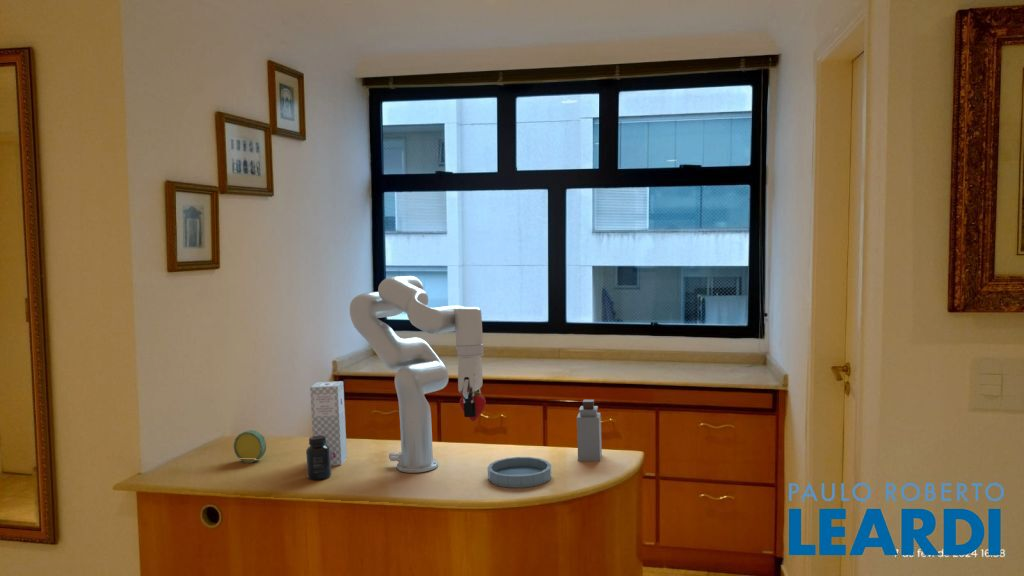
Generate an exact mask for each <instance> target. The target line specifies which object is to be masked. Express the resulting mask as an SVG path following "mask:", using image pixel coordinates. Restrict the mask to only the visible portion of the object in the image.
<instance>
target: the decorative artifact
mask: <svg viewBox="0 0 1024 576" xmlns="http://www.w3.org/2000/svg"><path fill="white" fill-rule="evenodd" d="M233 451H234V454H235V456H236V457H237V458H238V459H239V458H256V459H258V460H260V459H261V458H263V456H264V455H265V453H266V451H267V442H266V440H265V437H264V435H263V434H262V433H260V432H259V431H257V430H251V429H249V430H246V431H244V432H241V433H239V434H238V435H237V437H236V438H235V439H234V442H233ZM239 460H240V461H242V463H243V462H244V463H246V464H249V463H250V464H251V463H254V462H256V461H257V460H254V459H239Z"/></svg>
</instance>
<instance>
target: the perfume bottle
mask: <svg viewBox="0 0 1024 576" xmlns="http://www.w3.org/2000/svg"><path fill="white" fill-rule="evenodd" d="M598 408H599V406H598V405H595V399H583V400H582V405H581V406H580V407H579V409H578V411H579V412H578V414H577V416H576V431H577V433H576V434H577V436H576V437H577V440H576V441H577V442H576V443H577V461H578V462H601V459H602V456H603V455H602V451H603V450H602V417H601V416H602V415H601V412H598Z"/></svg>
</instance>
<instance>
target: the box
mask: <svg viewBox="0 0 1024 576" xmlns="http://www.w3.org/2000/svg"><path fill="white" fill-rule="evenodd" d="M309 388H310V389H309V390H310V408H311V409H310V410H311V426H312V427H311V429H312V437H313V436H325V437H326V443H325V444H326V445H328V446H329V448H330V461H331V467H332V466H342V465H343V464H344V463H345V461H346V459H347V458H348V453H347V452H348V447H347V432H346V428H347V427H346V408H345V391H344V381H343V380H339V381H317V382H314V384H313V385H312V386H310V387H309Z"/></svg>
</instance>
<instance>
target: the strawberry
mask: <svg viewBox="0 0 1024 576" xmlns="http://www.w3.org/2000/svg"><path fill="white" fill-rule="evenodd" d="M479 394H481V395H479ZM469 395H470V396H471V394H469ZM463 397H464V396H463V395H462V396H461V398H459V405H460V407H461V410H462V412H464V402H463V400H464V398H463ZM474 402H475V407H476V416H475V417H468V418H469V420H471V421H472V422H476V420H477V419H478V418H479V416H480V415H481V414H482V412H483V410H484V409H485V406H486V403H487V401H486V398H485V396H484V395H482V392H481V393H480V392H477V391H476V392H474Z"/></svg>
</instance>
